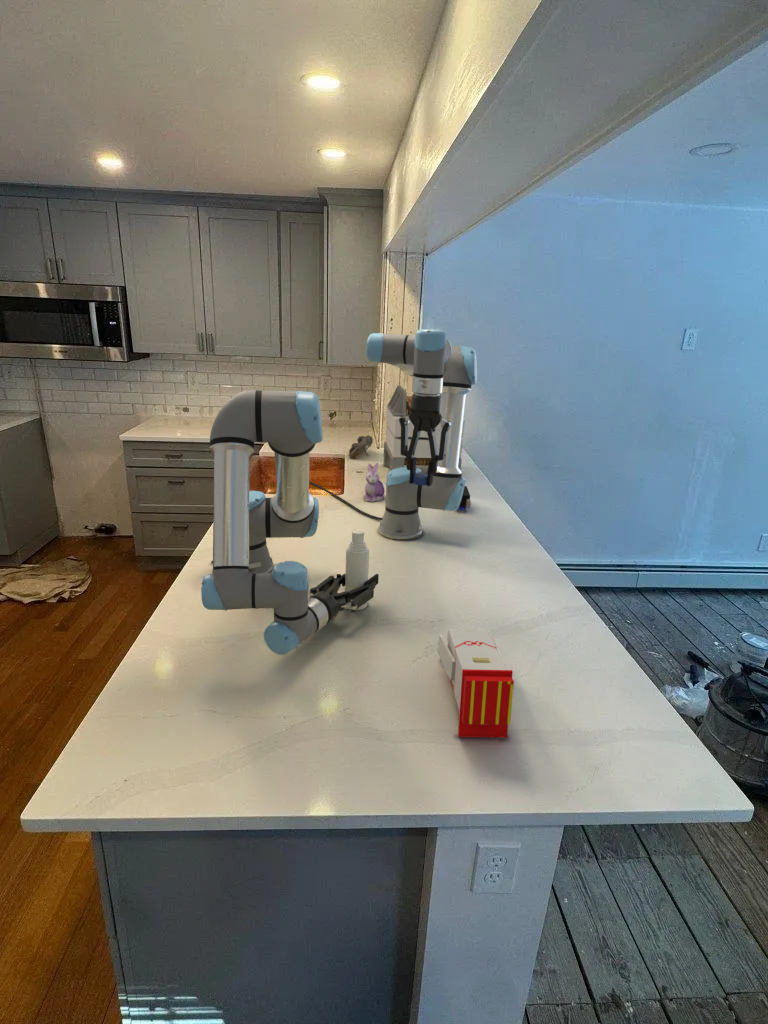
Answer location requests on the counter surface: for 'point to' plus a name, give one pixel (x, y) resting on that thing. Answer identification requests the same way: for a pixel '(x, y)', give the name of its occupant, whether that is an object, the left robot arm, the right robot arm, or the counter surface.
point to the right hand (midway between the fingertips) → (420, 483)
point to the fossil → (360, 446)
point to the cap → (420, 479)
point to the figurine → (373, 485)
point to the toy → (478, 682)
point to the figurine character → (465, 500)
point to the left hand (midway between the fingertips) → (366, 575)
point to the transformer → (392, 446)
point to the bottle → (356, 563)
